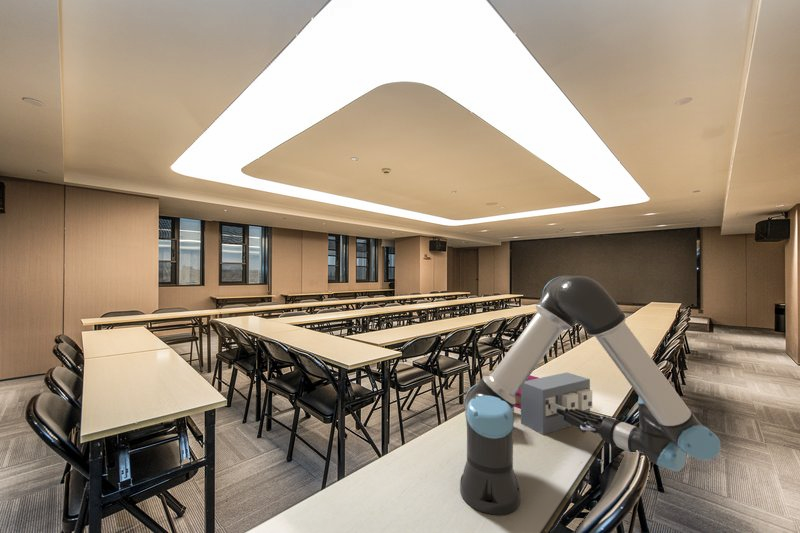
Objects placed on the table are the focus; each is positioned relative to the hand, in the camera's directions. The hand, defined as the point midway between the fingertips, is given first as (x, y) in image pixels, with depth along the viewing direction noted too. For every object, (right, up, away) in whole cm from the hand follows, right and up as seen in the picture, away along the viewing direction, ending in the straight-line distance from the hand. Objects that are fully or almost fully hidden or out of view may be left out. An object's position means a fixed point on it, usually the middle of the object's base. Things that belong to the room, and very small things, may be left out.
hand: (551, 406), depth 120 cm
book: (+4, -11, +32) cm, 34 cm away
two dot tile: (+16, -4, +7) cm, 18 cm away
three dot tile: (-1, -3, +1) cm, 4 cm away
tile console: (+5, -9, +8) cm, 13 cm away
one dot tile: (+8, -3, +3) cm, 9 cm away
